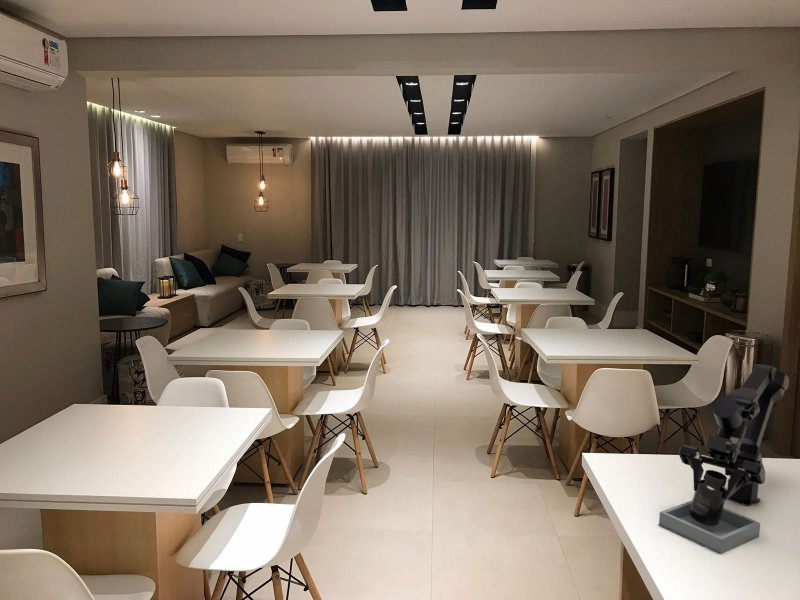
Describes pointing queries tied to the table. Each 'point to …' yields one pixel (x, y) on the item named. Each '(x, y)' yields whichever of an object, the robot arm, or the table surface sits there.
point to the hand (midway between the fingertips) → (709, 494)
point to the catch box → (710, 528)
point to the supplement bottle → (709, 498)
